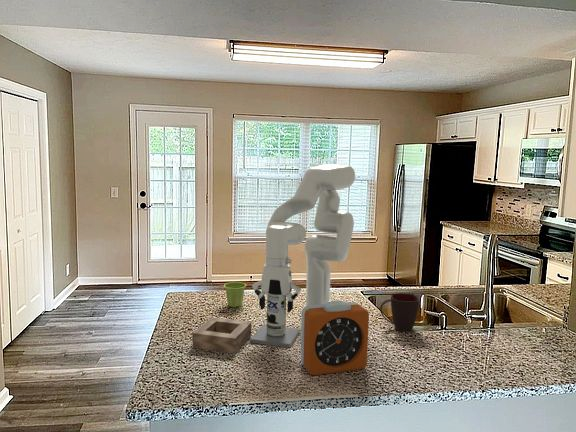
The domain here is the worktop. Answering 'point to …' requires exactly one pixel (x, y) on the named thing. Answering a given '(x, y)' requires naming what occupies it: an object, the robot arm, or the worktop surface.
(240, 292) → the plant pot
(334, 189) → the robot arm
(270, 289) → the spray can
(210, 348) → the walnut collar
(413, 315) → the cup
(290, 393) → the worktop surface
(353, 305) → the alarm clock
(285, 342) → the slate coaster
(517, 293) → the worktop surface
